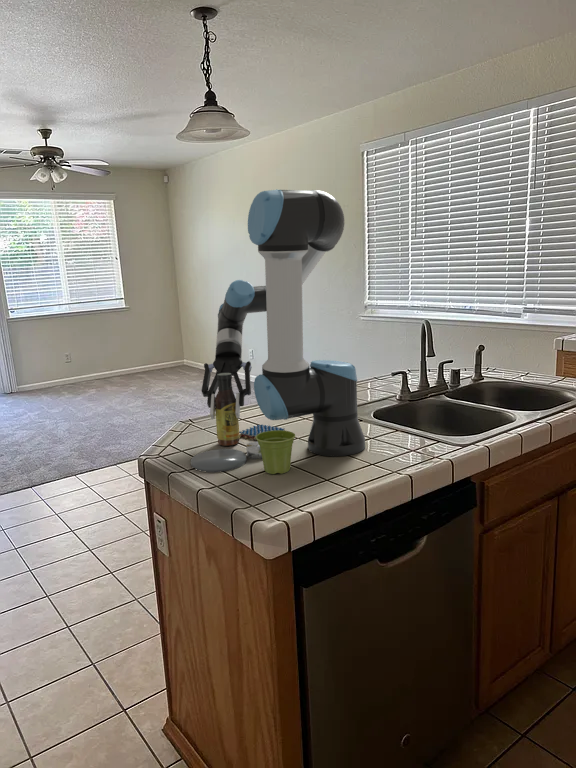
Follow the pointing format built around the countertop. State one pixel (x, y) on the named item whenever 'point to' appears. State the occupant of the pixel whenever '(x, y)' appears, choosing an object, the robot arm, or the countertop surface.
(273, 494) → the countertop surface
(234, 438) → the sauce bottle
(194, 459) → the disc
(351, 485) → the countertop surface
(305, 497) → the countertop surface
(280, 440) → the plant pot
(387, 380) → the countertop surface
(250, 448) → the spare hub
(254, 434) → the woven mat
